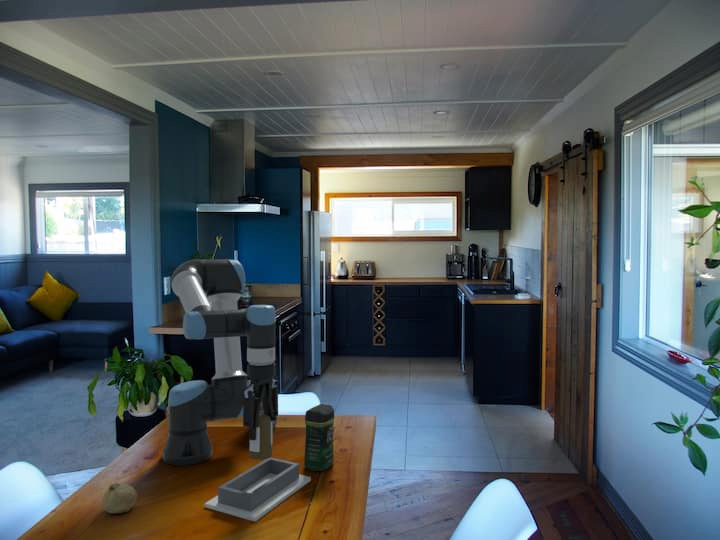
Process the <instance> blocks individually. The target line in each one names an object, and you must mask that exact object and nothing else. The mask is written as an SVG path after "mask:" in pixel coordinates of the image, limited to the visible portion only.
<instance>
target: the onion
mask: <svg viewBox="0 0 720 540" xmlns="http://www.w3.org/2000/svg"><path fill="white" fill-rule="evenodd" d="M137 498H138V493H137V491H136V490H135V488H134V487H133V486H131V485H129V484H127V483H118V482H114V483H113V484H110V485H109V486H108V488H107V489H106V491H105V492H104V493H103V497H102V500H101V506H102V509H103V510H104V511H105V512H106V513H108V514H113V515H114V514H115V515H116V514H124V513H128V512H129V511H130V510H131V508H133V507H134V505H135V504H136V501H137Z"/></svg>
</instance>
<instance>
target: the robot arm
mask: <svg viewBox="0 0 720 540" xmlns="http://www.w3.org/2000/svg"><path fill="white" fill-rule="evenodd" d="M246 282H247V281H246V274H245V270H244V267H243V265H242V263H241V261H239V260H237V259H228V258H225V259H223V258H221V259H219V258H218V259H201V258H198V259H197V258H196V259H195V258H194V259H191V260H187V261H185V262H183V263H181V264H180V265H178V266H177V268H176V269H175V270H173V273H172V274H171V278H170V286H171V289H172V292H173V293H174V295H176V296H177V297H178V298H179V300H180V303H181V304H182V307H183V309H184V312H185V313H184V315H183V316H182V317H183V319H182V321H183V322H182V329H183V335H184V337H185V339H187V340H205V339H207V340H209V339H213V346H214V347H213V348H214V349H213V350H214V361H215V363H214V364H215V374H214V376H213V377H212V378H211V384H208V382H207V381H205V380H200V379H198V380H190V381H189V380H188V381H185V382H181V383H178V384H177V385H174V386H173V387H172V388H171V389H170V390H169V393H168V402H167V405H168V434H167V435H168V436H167V438H166V442H165V446H164V448H163V450H162V461H163V462H164V463H165V464H168V465H172V466H190V465H196V464H199V463H203V462H205V461H207V460H209V459H210V458H211V457H212V456H213V445H212V443H211V439H210V435H209V433H208V423H210V422H217V421H222V420H223V421H224V420H232V419H238V418H242V427H244V428H248V439H249V451H253V452H260V427H257V426H258V420H259V413H260V407H261V402H262V404H263V410H264V414H265V415H268V416H269V417H270V418H271V424H270V426H269V432H270V440H271V446H272V445H273V441H274V440H273V437H274V436H273V431H274V430H273V420H274V421H276V419H278V418H277V417H278V416H279V387H280V386H279V384H280V380H275V379H274V377H275V376H276V363H275V361H276V331H277V330H276V328H277V327H276V325H277V324H276V322H277V317H276V309H275V308H276V307H275V306H274V305H271V304H269V305H268V304H253V305H252V304H251V305H249V306H248V307H246V308H242V309H238V301H239V300H240V299H241V297H242V293H244V291H246V286H247V285H246ZM241 337H246V341H247V343H246V344H247V345H246V348H247V349H246V361H247V362H248V364H247V365H246V366H247V367H246V368H247V369H246V372H244V371H243V363H242V351H241ZM248 378H249V379H248ZM272 378H273V379H274V380H273V379H272ZM258 398H259V399H258ZM273 410H274V411H273ZM275 416H277V417H275ZM253 422H254V423H253Z"/></svg>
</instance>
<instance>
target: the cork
mask: <svg viewBox="0 0 720 540" xmlns="http://www.w3.org/2000/svg"><path fill="white" fill-rule="evenodd" d="M253 423H254V422H253ZM270 424H271V418H270V417H269V416H268V415H265V414H260V415H259V420H258V426H257V427H260V452H253V451H250V450H249V451H250V452H249V458H250V459H252V460H255V461H264V460H266V459H268V458H270V457H271V458H273V449H272V445H271V440H270V432H269V426H270Z"/></svg>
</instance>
